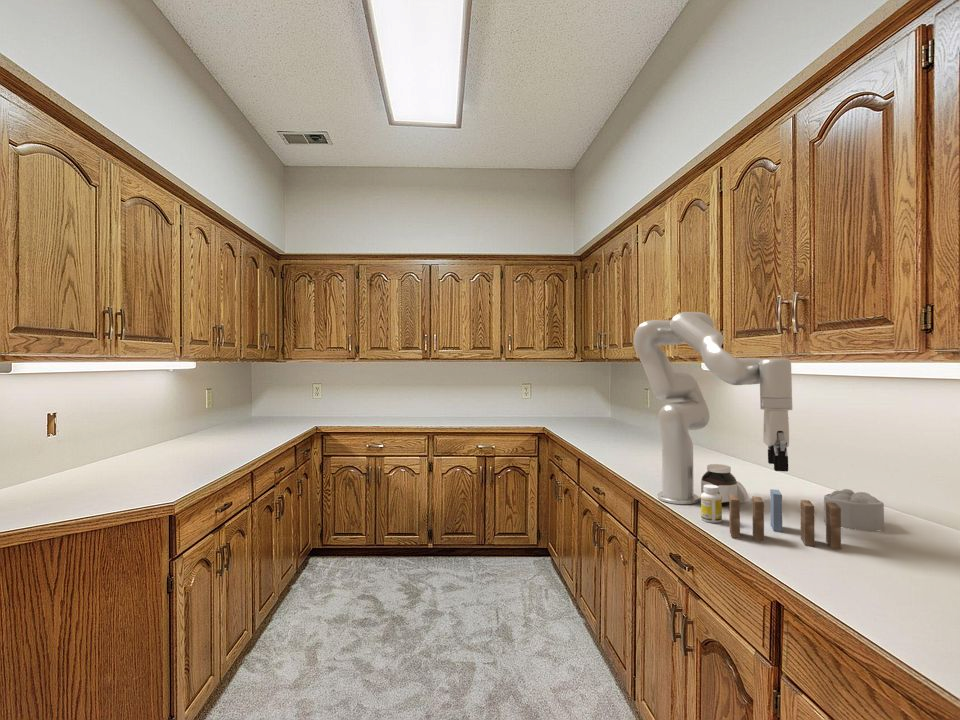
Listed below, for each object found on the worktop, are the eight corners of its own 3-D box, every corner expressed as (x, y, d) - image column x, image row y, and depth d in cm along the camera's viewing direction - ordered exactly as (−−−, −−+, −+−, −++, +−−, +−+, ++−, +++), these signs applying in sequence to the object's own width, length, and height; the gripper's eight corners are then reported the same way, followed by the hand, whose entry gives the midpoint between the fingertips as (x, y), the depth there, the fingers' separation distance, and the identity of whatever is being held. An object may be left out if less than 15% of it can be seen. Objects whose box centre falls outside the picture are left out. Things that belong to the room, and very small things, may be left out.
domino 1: (731, 538, 134) (731, 499, 134) (729, 531, 139) (729, 494, 139) (740, 538, 133) (739, 500, 133) (737, 532, 138) (737, 495, 138)
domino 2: (755, 540, 132) (755, 501, 132) (752, 533, 137) (752, 496, 137) (764, 541, 131) (763, 502, 131) (761, 534, 136) (760, 496, 136)
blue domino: (773, 531, 139) (773, 494, 138) (770, 525, 143) (770, 489, 143) (782, 532, 138) (781, 494, 138) (778, 526, 142) (778, 489, 142)
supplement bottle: (720, 518, 150) (719, 484, 150) (723, 524, 145) (723, 489, 145) (699, 516, 151) (699, 483, 151) (702, 522, 146) (702, 488, 146)
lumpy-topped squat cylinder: (888, 532, 137) (888, 499, 137) (831, 528, 140) (831, 496, 140) (870, 519, 147) (870, 489, 147) (818, 516, 150) (818, 486, 150)
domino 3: (805, 545, 128) (804, 505, 128) (800, 538, 133) (800, 499, 133) (814, 546, 127) (814, 506, 127) (809, 539, 132) (809, 500, 132)
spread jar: (697, 501, 166) (697, 465, 166) (715, 495, 173) (715, 460, 173) (734, 510, 157) (734, 472, 157) (752, 503, 164) (752, 466, 163)
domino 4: (831, 548, 126) (831, 507, 126) (825, 541, 131) (825, 501, 131) (841, 549, 125) (840, 508, 125) (835, 542, 130) (835, 502, 130)
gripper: (756, 401, 149) (757, 460, 149) (765, 406, 133) (767, 473, 133) (785, 401, 147) (787, 461, 146) (799, 407, 130) (800, 474, 130)
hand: (777, 467), depth 140 cm, fingers open, 9 cm apart
